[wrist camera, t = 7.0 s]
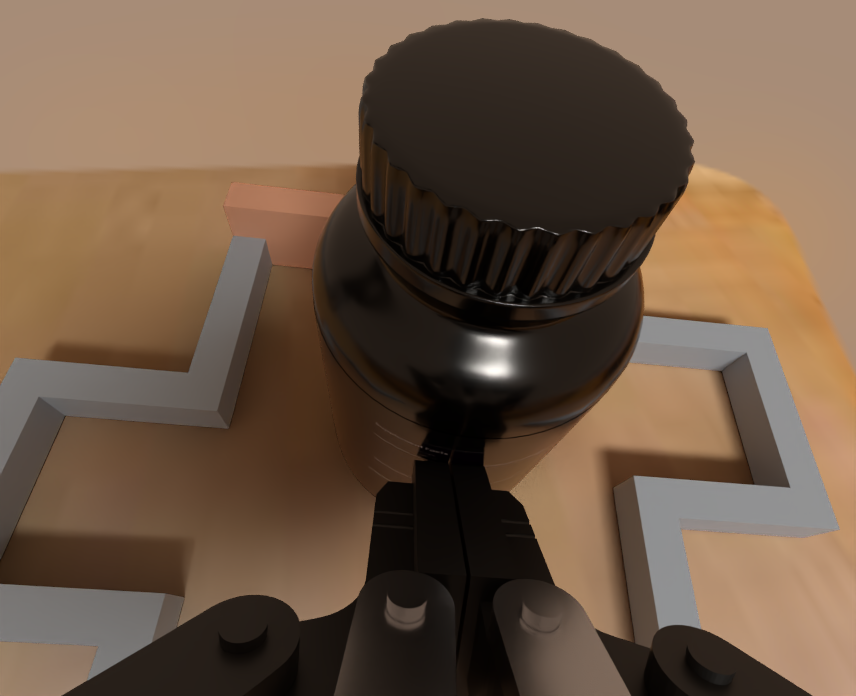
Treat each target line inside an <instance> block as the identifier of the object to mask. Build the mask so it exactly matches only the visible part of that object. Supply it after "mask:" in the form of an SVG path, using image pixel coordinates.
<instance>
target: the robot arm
mask: <svg viewBox="0 0 856 696" xmlns="http://www.w3.org/2000/svg"><path fill="white" fill-rule="evenodd" d="M62 696H812V695H810V694H809V693H807V692H806V691H804V690H803V689H801V688H799V687H798V686H796V685H795V684H793V683H792V682H790V681H788V680H787V679H785V678H784V677H782V676H780V675H779V674H777V673H776V672H774V671H773V670H771V669H769V668H768V667H766V666H765V665H763V664H762V663H760V662H758V661H757V660H755V659H754V658H752V657H751V656H749V655H747V654H746V653H744V652H743V651H741V650H740V649H738V648H736V647H735V646H733V645H732V644H730V643H728V642H727V641H725V640H723V639H722V638H720V637H718V636H716V635H714V634H712V633H710V632H707V631H705V630H702V629H699V628H695V627H692V626H686V625H669V626H666V627H663V628H661V629H660V630H658V631H657V632H656V634H655V635H654V637H653V640H652V644H651V648H648V647H645V646H642V645H639V644H636V643H632V642H629V641H626V640H623V639H620V638H617V637H614V636H611V635H608V634H606V633H603V632H601V631H599V630H597V629H595V628H594V626H593V625H592V623H591V621H590V619H589V617H588V615H587V614H586V612H585V610H584V609H583V607H582V606H581V605H580V604H579V603H578V601H577V600H576V599H574V598H573V597H572V596H571V595H570V594H568V593H567V592H565V591H564V590H562V589H560V588H559V587H557V586H555V584H554V582H553V579H552V577H551V574H550V572H549V569H548V567H547V564H546V562H545V559H544V557H543V554H542V552H541V549H540V547H539V544H538V542H537V539H535V534H534V532H533V529H532V527H531V525H529V519H528V517H527V514H526V512H525V509H524V507H523V505H522V504H521V503H520V502H519V501H518V500H517V499H516V498H515V497H514V496H513V495H512V494H510V493H509V492H508V491H503V490H492V488H491V485H490V482H489V479H488V475H487V472H486V469H485V467H484V466H480V465H466V464H455V463H451V464H450V466H449V464H448V463H444V462H433V461H421V460H414V465H413V473H412V482H411V483H404V482H392V481H388V482H387V483H386V484H385V485H384V486H383V487H382V488H381V489H380V491H379V492H378V493H377V494H376V502H375V510H374V518H373V526H372V534H371V542H370V551H369V559H368V567H367V575H366V581H365V585H364V586H363V588H362V589H361V591H360V593H359V596H358V597H357V598H356V599H355V600H354V601H353V602H352V603H351V604H350V605H348V606H347V607H345V608H344V609H342V610H340V611H338V612H336V613H333V614H331V615H328V616H324V617H320V618H315V619H310V620H305V621H300V622H299V619H298V617H297V615H296V613H295V612H294V610H293V609H292V608H291V607H290V606H289V605H287V604H286V603H284V602H283V601H281V600H278V599H276V598H273V597H269V596H263V595H246V596H239V597H235V598H232V599H228V600H226V601H223V602H221V603H219V604H217V605H215V606H213V607H211V608H209V609H208V610H206V611H204V612H203V613H201V614H199V615H198V616H196V617H194V618H192V619H191V620H189V621H187V622H186V623H184V624H182V625H181V626H179V627H177V628H176V629H174V630H172V631H170V632H169V633H167V634H165V635H164V636H162V637H160V638H159V639H157V640H155V641H154V642H152V643H150V644H148V645H147V646H145V647H143V648H142V649H140V650H138V651H137V652H135V653H133V654H132V655H130V656H128V657H126V658H125V659H123V660H121V661H120V662H118V663H116V664H115V665H113V666H111V667H110V668H108V669H106V670H104V671H103V672H101V673H99V674H98V675H96V676H94V677H93V678H91V679H89V680H88V681H86V682H84V683H82V684H81V685H79V686H77V687H76V688H74V689H72V690H71V691H69V692H67V693H66V694H64V695H62Z"/></svg>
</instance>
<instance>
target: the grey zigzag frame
mask: <svg viewBox="0 0 856 696" xmlns="http://www.w3.org/2000/svg"><path fill="white" fill-rule="evenodd" d="M343 197H344V195H342V194H334V193H325V192H316V191H307V190H298V189H289V188H281V187H272V186H263V185H254V184H245V183H236V182H231V185H230V188H229V191H228V194H227V196H226V199H225V202H224V205H223V207H224V210H225V213H226V216H227V219H228V222H229V225H230V228H231V231H232V234H233V238H232V241H231V244H230V247H229V250H228V253H227V256H226V259H225V262H224V265H223V268H222V271H221V274H220V277H219V280H218V283H217V286H216V289H215V293H214V296H213V299H212V302H211V305H210V308H209V311H208V314H207V317H206V320H205V323H204V326H203V329H202V332H201V335H200V338H199V341H198V344H197V347H196V350H195V353H194V356H193V360H192V363H191V366H190V369H189V372H188V373H186V372H174V371H163V370H151V369H140V368H128V367H117V366H105V365H94V364H82V363H71V362H59V361H48V360H36V359H25V358H15V359H14V361H13V363H12V365H11V366H10V368H9V370H8V372H7V374H6V376H5V378H4V379H3V381H2V383H1V385H0V560H1V558H2V555H3V553H4V551H5V549H6V547H7V544H8V542H9V540H10V538H11V535H12V533H13V531H14V529H15V526H16V524H17V522H18V520H19V517H20V515H21V513H22V511H23V509H24V506H25V504H26V502H27V500H28V497H29V495H30V493H31V491H32V488H33V486H34V484H35V482H36V480H37V477H38V475H39V473H40V471H41V468H42V466H43V464H44V462H45V459H46V457H47V455H48V453H49V451H50V448H51V446H52V444H53V442H54V439H55V437H56V435H57V433H58V430H59V428H60V426H61V424H62V422H63V419H64V417H65V416H76V417H88V418H101V419H113V420H126V421H138V422H151V423H163V424H176V425H188V426H201V427H213V428H226V429H229V427H230V423H231V419H232V415H233V411H234V408H235V404H236V400H237V396H238V393H239V389H240V385H241V381H242V377H243V374H244V370H245V366H246V362H247V358H248V355H249V351H250V347H251V343H252V340H253V336H254V332H255V328H256V324H257V321H258V317H259V313H260V309H261V305H262V302H263V298H264V294H265V290H266V287H267V283H268V279H269V275H270V271H271V268H272V265H280V266H290V267H300V268H309V269H312V266H313V260H314V254H315V250H316V246H317V243H318V240H319V237H320V234H321V232H322V230H323V228H324V225H325V223H326V221H327V220H328V218H329V216H330V215H331V213H332V211H333V210H334V208H335V207H336V206H337V204H338V203H339V202H340V200H341V199H342V198H343ZM629 362H631V363H642V364H652V365H663V366H674V367H684V368H695V369H706V370H716V371H722V373H723V377H724V380H725V384H726V387H727V391H728V394H729V398H730V401H731V405H732V408H733V412H734V415H735V419H736V422H737V425H738V429H739V432H740V436H741V439H742V443H743V446H744V450H745V453H746V457H747V460H748V464H749V467H750V471H751V474H752V477H753V481H754V484H755V485H748V484H735V483H723V482H710V481H697V480H684V479H671V478H658V477H645V476H632V477H631V478H629V479H627V480H626V481H624V482H622V483H620V484H619V485H617V486H615V487H614V488H613V490H614V497H615V504H616V511H617V518H618V525H619V532H620V539H621V546H622V553H623V560H624V567H625V574H626V581H627V588H628V595H629V602H630V609H631V616H632V623H633V630H634V637H635V643H636V644H639V645H642V646H645V647H648V648H651V644H652V640H653V637H654V635H655V634H656V632H657V631H658V630H660V629H661V628H663V627H666V626H669V625H686V626H692V627H695V628H699V629H701V626H700V621H699V616H698V611H697V606H696V601H695V596H694V591H693V586H692V581H691V576H690V572H689V567H688V562H687V557H686V552H685V547H684V542H683V537H682V532H681V529H685V530H699V531H714V532H728V533H742V534H756V535H770V536H784V537H799V538H805V537H809V536H813V535H818V534H822V533H827V532H831V531H836V530H840V529H839V526H838V523H837V520H836V518H835V515H834V512H833V509H832V506H831V504H830V501H829V498H828V495H827V492H826V490H825V487H824V484H823V481H822V479H821V476H820V473H819V470H818V467H817V465H816V462H815V459H814V456H813V453H812V451H811V448H810V445H809V442H808V440H807V437H806V434H805V431H804V428H803V426H802V423H801V420H800V417H799V414H798V412H797V409H796V406H795V403H794V401H793V398H792V395H791V392H790V389H789V387H788V384H787V381H786V378H785V375H784V373H783V370H782V367H781V364H780V362H779V359H778V356H777V353H776V350H775V348H774V345H773V342H772V339H771V336H770V334H769V331H768V328H759V327H750V326H740V325H730V324H720V323H710V322H700V321H690V320H680V319H670V318H660V317H650V316H643V325H642V329H641V333H640V338H639V340H638V343H637V346H636V348H635V351H634V354H633V356H632V358H631V360H630V361H629ZM183 601H184V597H180V596H176V595H171V594H166V593H149V592H132V591H114V590H97V589H79V588H62V587H44V586H27V585H9V584H0V641H5V642H26V643H46V644H66V645H86V646H98V649H97V652H96V655H95V658H94V661H93V664H92V667H91V670H90V673H89V676H88V679H87V681H88V680H89V679H91V678H93V677H94V676H96V675H98V674H99V673H101V672H103V671H104V670H106V669H108V668H110V667H111V666H113V665H115V664H116V663H118V662H120V661H121V660H123V659H125V658H126V657H128V656H130V655H132V654H133V653H135V652H137V651H138V650H140V649H142V648H143V647H145V646H147V645H148V644H150V643H152V642H154V641H155V640H157V639H159V638H160V637H162V636H164V635H165V634H167V633H169V632H170V631H172V630H174V629H176V627H177V623H178V620H179V616H180V612H181V608H182V604H183Z"/></svg>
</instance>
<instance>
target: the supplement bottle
mask: <svg viewBox="0 0 856 696" xmlns="http://www.w3.org/2000/svg"><path fill="white" fill-rule="evenodd" d="M686 127H687V120H686V119H685V117H684V116H683V115H682V114H681V113H680V112H679V111H678V110H677V105H676V102H675V100H674V99H673V98H671V97H670V96H669V95H668V94H667V93H665V92H664V91H663V89H662V87H661V85H660V83H659V82H657V81H656V80H654V79H653V78H652V77H650V76H648V75H647V74H645V72H644V71H643V70H642V69H641V68H640V66H639V65H637V64H634V63H633V62H631V61H628V60H626V59H625V58H623V57H622V56H621V55H620V54H619V53H618V52H616V51H614V50H611V49H609V48H606V47H603V46H601V45H599V44H598V43H596V42H595V41H593V40H591V39H588V38H584V37H580V36H576V35H574V34H572V33H570V32H568V31H566V30H562V29H555V28H550V27H547V26H544V25H541V24H538V23H523V22H519V21H515V20H510V19H508V20H492V19H484V18H482V19H478V20H473V21H454V22H451V23H449V24H447V25H435V26H431V27H429V28H428V29H426V30H425V31H422V32H418V33H413V34H410V35H408V36H407V37H406V39H405V40H404V41H402V42H399V43H396V44H394V45H391V46H390V48H389V49H388V52H387V54H385V55H384V56H382V57H380V58H378V59H376V60H375V63H374V67H373V71H372V72H370V73H369V74H368V75H367V76H366V77H365V80H364V84H363V96H362V97H361V101H360V105H359V146H360V147H359V149H360V156H359V159H358V164H357V171H356V184H355V185H354V186H353V187H352V188H351V189H350V190H349V191H348V192H347V193H346V194H345V195H344V197H343V198H342V199H341V200H340V202H339V203H338V204H337V206H336V207H335V208H334V210H333V211H332V213H331V215H330V216H329V218H328V220H327V221H326V223H325V225H324V228H323V230H322V232H321V234H320V237H319V240H318V243H317V246H316V250H315V254H314V260H313V266H312V289H313V301H314V310H315V316H316V322H317V328H318V333H319V339H320V345H321V350H322V356H323V362H324V368H325V373H326V379H327V385H328V390H329V396H330V402H331V408H332V413H333V419H334V424H335V429H336V434H337V438H338V442H339V445H340V448H341V451H342V454H343V456H344V458H345V460H346V463H347V464H348V466H349V468H350V470H351V471H352V473H353V474H354V475H355V477H356V478H357V480H358V481H359V482H360V483H361V484H362V485H363V486H364V488H366V489H367V490H368V491H369V492H370V493H371V494H372V495H373V496H375V497H376V494H377V493H378V492H379V491H380V489H381V488H382V487H383V486H384V485H385V484H386V483H387V482H388V481H392V482H404V483H411V482H412V473H413V465H414V460H421V461H433V462H444V463H448V464H449V466H450V464H451V463H455V464H466V465H480V466H484V467H485V469H486V472H487V475H488V479H489V482H490V485H491V488H492V490H503V491H508V492H509V491H510V490H512V489H513V488H514V487H515V486H516V485H517V484H518V483H519V482H520V481H521V480H522V479H523V478H524V477H525V476H526V475H527V474H528V473H529V472H530V471H531V470H532V469H533V468H534V467H535V466H536V465H537V464H538V463H539V462H540V461H541V460H542V459H543V458H544V457H545V456H546V455H547V454H548V452H549V451H550V450H551V449H552V448H553V447H554V446H555V445H556V444H557V443H558V442H559V441H560V440H561V439H562V438H563V437H564V436H565V435H566V434H567V433H568V432H569V431H570V430H571V429H572V428H573V427H574V426H575V425H576V424H577V423H578V422H579V421H580V420H581V419H582V418H583V417H584V416H585V415H586V414H587V413H588V412H589V411H590V410H591V409H592V408H593V407H594V406H595V404H596V403H597V402H598V401H599V400H600V399H601V398H602V397H603V396H604V395H605V394H606V393H607V392H608V391H609V389H610V388H611V387H612V386H613V384H614V383H615V382H616V381H617V379H618V378H619V377H620V375H621V374H622V372H623V371H624V370H625V368H626V367H627V365H628V363H629V361H630V360H631V358H632V356H633V354H634V351H635V348H636V346H637V343H638V340H639V338H640V333H641V329H642V325H643V316H644V287H643V280H642V273H641V269H640V266H641V265H642V263H643V262H644V260H645V258H646V257H647V255H648V253H649V251H650V249H651V247H652V244H653V242H654V238H655V234H656V232H657V230H658V229H659V228H660V226H661V225H662V223H663V222H664V221H665V219H666V218H667V216H668V215H669V214H670V212H671V211H672V209H673V208H674V207H675V205H676V204H677V202H678V201H679V199H680V198H681V196H682V195H683V193H684V191H685V189H686V187H687V184H688V176H689V174H690V172H691V170H692V168H693V165H694V163H695V161H694V157H693V155H692V153H691V148H692V146H693V143H694V140H693V138H692V136H691V135H690V133H689V132H688V131H687V129H686Z"/></svg>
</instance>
